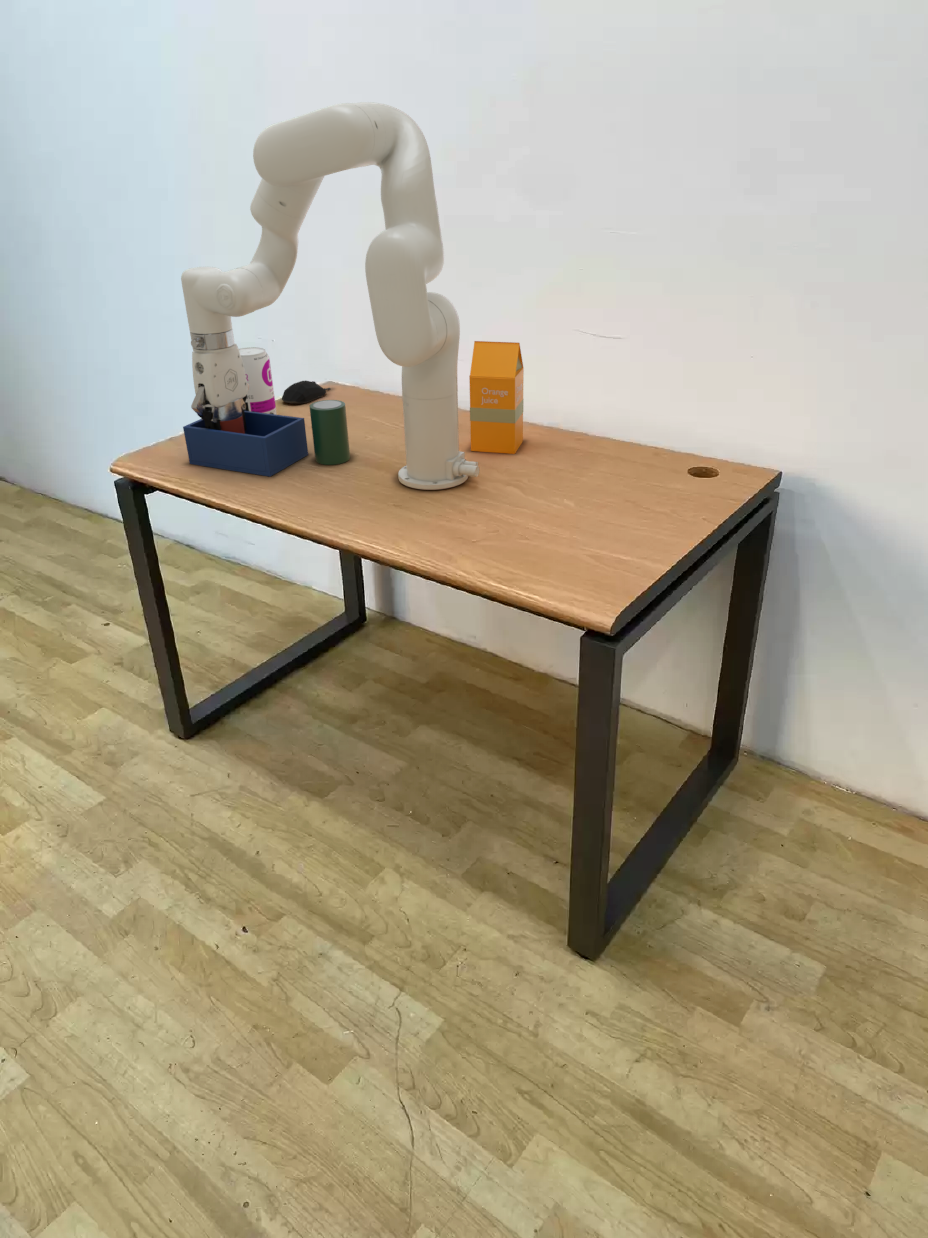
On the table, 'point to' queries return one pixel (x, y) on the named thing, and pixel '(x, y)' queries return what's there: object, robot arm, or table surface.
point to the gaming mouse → (303, 392)
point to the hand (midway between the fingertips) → (227, 434)
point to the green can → (330, 432)
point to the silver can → (231, 417)
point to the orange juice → (496, 397)
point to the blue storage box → (249, 444)
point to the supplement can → (258, 380)
